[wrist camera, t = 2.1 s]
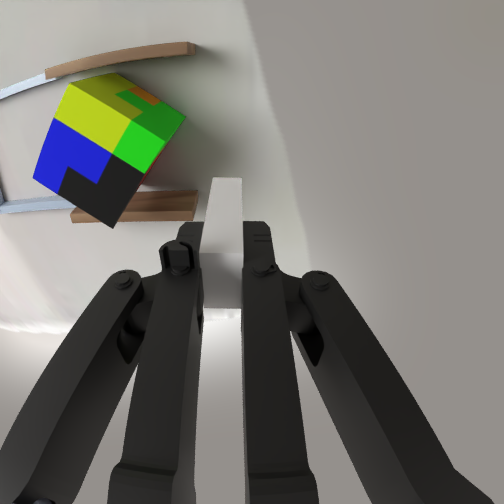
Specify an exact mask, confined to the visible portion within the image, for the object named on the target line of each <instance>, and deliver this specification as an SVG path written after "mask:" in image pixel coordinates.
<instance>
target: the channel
mask: <svg viewBox="0 0 504 504" xmlns="http://www.w3.org/2000/svg"><path fill="white" fill-rule="evenodd" d="M184 55H195V44H193V43H190V42H176V43H166V44H157V45H149V46H142V47H135V48H129V49H123V50H118V51H113V52H108V53H103V54H99V55H94V56H90V57H86V58H82V59H78V60H75V61H71V62H67V63H64V64H61V65H57V66H54V67H51V68H48V69H45V79H46V80H48V79H52V78H56V77H60V76H64V75H69V74H73V73H76V72H80V71H85V70H89V69H93V68H98V67H103V66H108V65H113V64H118V63H124V62H130V61H137V60H144V59H152V58H161V57H171V56H184ZM197 202H198V190H195V191H151V192H136V193H135V194H134V196H133V197H132V199H131V200H130V202H129V203H128V205H127V207H126V208H125V210H124V211H123V213H122V215H121V216H120V218H119V220H118V221H117V222H133V221H193V218H194V214H195V210H196V206H197ZM70 217H71V220H72V223H93V222H101V221H99V220H97V219H96V218H94V217H93V216H91V215H89V214H88V213H86V212H85V211H83V210H81V209H80V208H78V207H76V208H75V209H74V210H73V211H72V213H71V214H70Z"/></svg>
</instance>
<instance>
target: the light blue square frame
mask: <svg viewBox="0 0 504 504" xmlns="http://www.w3.org/2000/svg"><path fill="white" fill-rule="evenodd" d="M60 78H62V76H60V77H56V78H52V79H48V80H46V79H45V73H44V74H41V75H38V76H35V77H32V78H30V79H27V80H24V81H22V82H19V83H17V84H14V85H12V86H9V87H7V88H4V89H2V90H0V99H2V98H5V97H7V96H10V95H12V94H15V93H17V92H20V91H23V90H26V89H28V88H31V87H34V86H37V85H40V84H43V83H47V82H50V81H53V80H57V79H60ZM76 207H77V206H75V205H73V204H72V203H70V202H69V201H67V200H66V199H64V198H62V197H61V196H51V197H41V198H32V199H23V200H15V201H7V202H5V201H4V198H3V195H2V192H1V188H0V214H3V213H13V212H24V211H36V210H48V209H63V208H76Z"/></svg>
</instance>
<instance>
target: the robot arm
mask: <svg viewBox="0 0 504 504" xmlns="http://www.w3.org/2000/svg"><path fill="white" fill-rule="evenodd" d="M159 254H160V260H161V265H162V271H161V272H160V273H158V274H156V275H152V276H148V277H144V278H141V276H140V275H139V274H138V272H136V271H133V270H121V271H118V272H116V273H114V274H113V275H112V276H110V277H109V278H108V280H107V281H106V282H105V284H104V285H103V286H102V287H101V289H100V290H99V291H98V293H97V294H96V295H95V297H94V298H93V299H92V301H91V302H90V303H89V305H88V306H87V308H86V309H85V310H84V312H83V313H82V314H81V316H80V317H79V319H78V320H77V322H76V323H75V324H74V326H73V327H72V329H71V330H70V332H69V333H68V334H67V336H66V338H65V339H64V340H63V342H62V343H61V345H60V346H59V348H58V350H57V351H56V352H55V354H54V356H53V357H52V359H51V360H50V362H49V363H48V365H47V366H46V368H45V370H44V371H43V373H42V375H41V376H40V378H39V379H38V381H37V383H36V384H35V386H34V388H33V390H32V391H31V393H30V395H29V396H28V398H27V400H26V402H25V403H24V405H23V407H22V409H21V411H20V412H19V414H18V416H17V418H16V420H15V422H14V424H13V426H12V427H11V429H10V431H9V433H8V435H7V437H6V439H5V441H4V443H3V445H2V448H1V450H0V504H72V503H73V502H74V500H75V498H76V496H77V494H78V492H79V490H80V488H81V486H82V483H83V481H84V478H85V476H86V474H87V471H88V469H89V467H90V464H91V462H92V460H93V458H94V455H95V453H96V450H97V448H98V446H99V444H100V442H101V440H102V437H103V435H104V433H105V431H106V429H107V426H108V424H109V422H110V420H111V418H112V416H113V414H114V412H115V409H116V407H117V405H118V403H119V401H120V399H121V396H122V395H123V393H124V391H125V389H126V387H127V385H128V383H129V381H130V378H131V377H132V375H133V373H134V371H135V368H136V367H137V365H138V367H137V373H136V377H135V382H134V387H133V392H132V397H131V403H130V409H129V414H128V420H127V426H126V432H125V439H124V446H123V453H122V458H121V460H120V462H119V463H118V464H117V465H116V466H115V467H114V468H113V470H112V472H111V476H110V481H109V490H108V500H107V504H196V492H195V487H194V466H195V440H196V418H197V400H198V385H199V371H200V357H201V345H202V333H203V322H204V316H203V303H204V308H241V333H242V385H243V428H244V460H245V462H244V463H245V504H319V498H318V490H317V484H316V480H315V477H314V474H313V473H312V471H311V470H310V468H309V465H308V459H307V451H306V443H305V435H304V427H303V420H302V412H301V405H300V398H299V390H298V383H297V376H296V369H295V362H294V356H293V349H292V342H291V336H290V331H291V332H292V335H293V338H294V340H295V342H296V344H297V346H298V348H299V350H300V352H301V355H302V357H303V359H304V361H305V363H306V365H307V367H308V369H309V372H310V373H311V376H312V378H313V380H314V382H315V384H316V386H317V388H318V391H319V393H320V395H321V397H322V399H323V401H324V404H325V406H326V408H327V410H328V412H329V414H330V416H331V418H332V421H333V423H334V425H335V426H336V429H337V431H338V433H339V435H340V438H341V439H342V442H343V444H344V446H345V448H346V450H347V453H348V454H349V457H350V459H351V461H352V463H353V465H354V467H355V470H356V472H357V474H358V476H359V478H360V480H361V482H362V484H363V486H364V489H365V491H366V493H367V495H368V497H369V499H370V500H371V502H372V504H494V503H493V501H492V500H491V499H490V498H489V497H488V496H486V495H485V494H484V493H483V492H482V491H480V490H479V489H478V488H477V487H476V486H474V485H473V484H472V483H471V482H469V481H468V480H467V479H466V478H465V477H464V476H462V475H461V474H460V473H459V472H458V471H456V470H455V469H454V468H453V465H452V464H451V462H450V460H449V458H448V456H447V454H446V452H445V451H444V449H443V447H442V445H441V443H440V442H439V440H438V438H437V436H436V434H435V433H434V431H433V429H432V428H431V426H430V424H429V422H428V421H427V419H426V417H425V415H424V414H423V412H422V410H421V409H420V407H419V405H418V404H417V402H416V400H415V399H414V397H413V395H412V394H411V392H410V390H409V389H408V387H407V385H406V384H405V383H404V381H403V379H402V377H401V376H400V374H399V373H398V371H397V370H396V368H395V366H394V365H393V363H392V362H391V360H390V358H389V357H388V355H387V354H386V352H385V351H384V349H383V348H382V346H381V345H380V343H379V341H378V340H377V339H376V337H375V335H374V334H373V332H372V331H371V329H370V328H369V327H368V325H367V323H366V322H365V320H364V319H363V317H362V316H361V314H360V313H359V311H358V310H357V309H356V307H355V306H354V304H353V303H352V301H351V300H350V298H349V297H348V295H347V294H346V293H345V291H344V290H343V288H342V287H341V286H340V284H339V283H338V281H337V280H336V279H335V278H334V277H333V276H332V275H330V274H328V273H327V272H323V271H310V272H307V273H306V274H305V275H303V276H302V278H298V277H293V276H290V275H287V274H285V273H283V272H282V271H281V270H280V269H279V267H278V265H277V264H276V262H275V256H274V250H273V244H272V237H271V231H270V227H269V226H268V225H267V224H266V223H265V222H264V221H243V214H242V178H228V177H213V180H212V185H211V190H210V195H209V201H208V206H207V211H206V216H205V222H185V223H184V224H183V225H182V226H181V227H180V228H179V231H178V235H177V238H176V240H172V241H169V242H167V243H165V244H164V245H162V246H161V248H160V249H159Z"/></svg>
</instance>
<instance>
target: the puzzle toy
mask: <svg viewBox="0 0 504 504" xmlns="http://www.w3.org/2000/svg"><path fill="white" fill-rule="evenodd" d="M185 118H186V116H184V115H182V114H181V113H179V112H178V111H176V110H175V109H173V108H172V107H170V106H169V105H167V104H165V103H164V102H162V101H161V100H159V99H158V98H156V97H154V96H153V95H151V94H150V93H148V92H146V91H145V90H143V89H141V88H140V87H138V86H136V85H135V84H133V83H131V82H130V81H128V80H126V79H125V78H123V77H121V76H120V75H118V74H116V73H110V74H105V75H100V76H96V77H91V78H87V79H83V80H79V81H75V82H72V83H69V85H68V87H67V89H66V91H65V93H64V95H63V98H62V100H61V102H60V104H59V106H58V109H57V111H56V113H55V116H54V118H53V121H52V123H51V126H50V128H49V131H48V133H47V136H46V139H45V141H44V144H43V147H42V150H41V153H40V156H39V159H38V162H37V165H36V168H35V171H34V175H33V179H35V180H36V181H38V182H39V183H41V184H42V185H44V186H45V187H47V188H49V189H50V190H52V191H53V192H55V193H56V194H58V195H59V196H61V197H62V198H64V199H66V200H67V201H69V202H70V203H72V204H73V205H75V206H77V207H78V208H80V209H81V210H83V211H85V212H86V213H88V214H89V215H91V216H93V217H94V218H96V219H97V220H99V221H101V222H102V223H104V224H106V225H107V226H109V227H111V228H112V229H113V228H114V226H115V225H116V223H117V221H118V220H119V218H120V216H121V215H122V213H123V211H124V210H125V208H126V207H127V205H128V203H129V202H130V200H131V199H132V197H133V196H134V194H135V193H136V191H137V189H138V188H139V186H140V185H141V183H142V182H143V180H144V178H145V177H146V175H147V174H148V172H149V170H150V169H151V167H152V166H153V164H154V163H155V161H156V160H157V158H158V157H159V155H160V154H161V152H162V151H163V149H164V148H165V146H166V145H167V143H168V142H169V140H170V139H171V137H172V136H173V134H174V133H175V132H176V130H177V129H178V127H179V126H180V125H181V123H182V122H183V120H184V119H185Z"/></svg>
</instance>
